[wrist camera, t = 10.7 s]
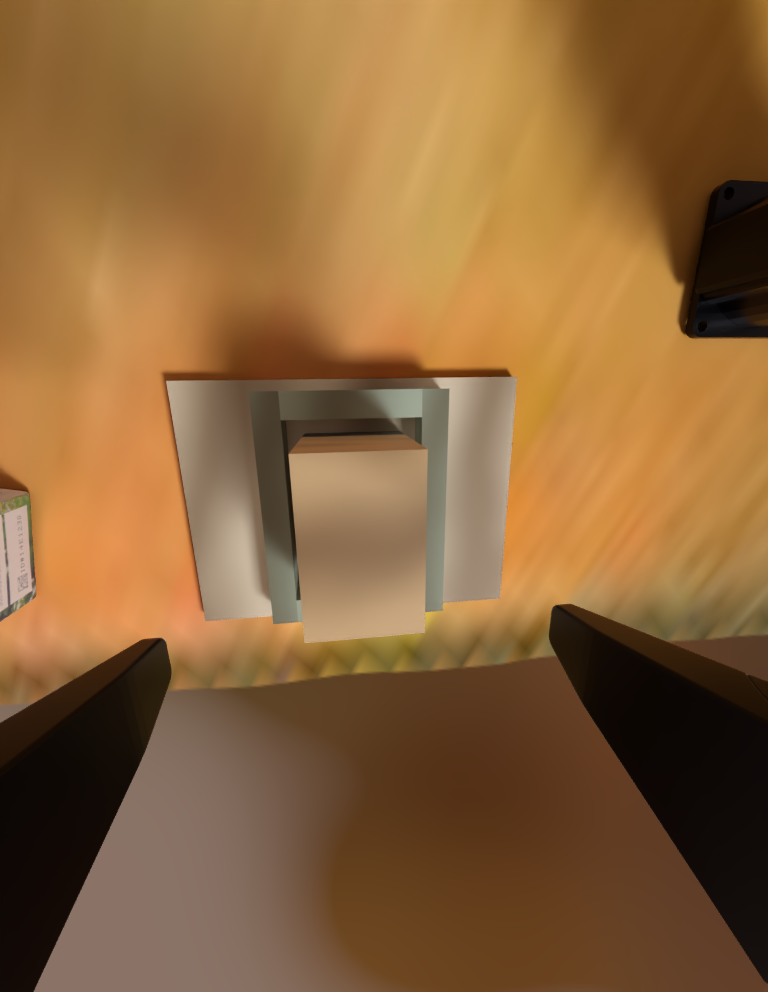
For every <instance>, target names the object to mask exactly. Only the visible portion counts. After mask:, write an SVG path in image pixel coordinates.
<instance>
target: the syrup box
mask: <svg viewBox="0 0 768 992" xmlns="http://www.w3.org/2000/svg"><path fill="white" fill-rule="evenodd" d="M35 597H36V580H35V572H34V554H33V540H32V525H31V506H30V498H29V493H28V492H25V491H18V490H10V489H1V488H0V621H2V620H3V619H5V618H6V617H8V616H9V615H11V614H13V613H14V612H15V611H17V610H18V609H20V608H21V607H23V606H24V605H25V604H27V603H28V602H30V601H31V600H32V599H34V598H35Z"/></svg>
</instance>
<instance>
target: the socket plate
mask: <svg viewBox="0 0 768 992" xmlns="http://www.w3.org/2000/svg"><path fill="white" fill-rule="evenodd" d="M166 383H167V389H168V395H169V401H170V408H171V414H172V420H173V426H174V432H175V438H176V444H177V450H178V456H179V463H180V469H181V475H182V481H183V487H184V493H185V499H186V505H187V511H188V517H189V524H190V530H191V536H192V542H193V548H194V554H195V560H196V566H197V572H198V578H199V585H200V591H201V597H202V603H203V609H204V615H205V621H214V620H227V619H240V618H253V617H266V616H273V624H280V623H293V622H303V619H302V607H301V595H300V583H299V572H298V560H297V548H296V536H295V525H294V513H293V501H292V489H291V478H290V466H289V453H290V452H291V450H292V449H293V448H294V446H295V445H296V444H297V443H298V441H299V440H300V439H301V438H302V436H303V435H304V434H305V433H340V432H376V431H401V432H402V433H404V434H405V435H407V436H408V437H410V438H411V439H413V440H414V441H416V442H417V443H419V444H420V445H422V446H423V447H425V448H426V449H428V465H427V527H426V590H425V612H431V611H443V603H447V602H460V601H473V600H486V599H499V598H500V590H501V577H502V564H503V552H504V539H505V526H506V513H507V500H508V487H509V474H510V461H511V448H512V435H513V423H514V410H515V397H516V384H517V377H452V378H366V379H280V380H194V381H166Z"/></svg>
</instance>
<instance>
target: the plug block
mask: <svg viewBox="0 0 768 992" xmlns="http://www.w3.org/2000/svg"><path fill="white" fill-rule="evenodd" d="M427 465H428V449H426V448H425V447H423V446H422V445H420V444H419V443H417V442H416V441H414V440H413V439H411V438H410V437H408V436H407V435H405V434H404V433H402V432H401V431H376V432H340V433H305V434H304V435H303V436H302V438H301V439H300V440H299V441H298V443H297V444H296V445H295V446H294V448H293V449H292V450H291V452H290V453H289V466H290V478H291V489H292V501H293V513H294V525H295V536H296V548H297V560H298V572H299V583H300V595H301V607H302V619H303V630H304V642H305V643H312V642H324V641H336V640H347V639H359V638H370V637H382V636H393V635H405V634H416V633H425V590H426V527H427Z"/></svg>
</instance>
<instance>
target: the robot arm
mask: <svg viewBox="0 0 768 992" xmlns="http://www.w3.org/2000/svg"><path fill="white" fill-rule="evenodd" d="M724 193H725V198H724ZM699 324H700V329H699V330H698V325H699ZM686 333H687V335H688V336H689V337H690V338H768V182H758V181H738V180H730V181H727V182H725V183H723V184H721V185H719V186H718V187H716V188H715V189H714V191H713V192H712V194H711V197H710V203H709V208H708V213H707V219H706V224H705V229H704V235H703V240H702V245H701V251H700V256H699V261H698V267H697V272H696V277H695V283H694V288H693V293H692V299H691V304H690V309H689V315H688V320H687V325H686ZM549 640H550V643H551V645H552V647H553V649H554V651H555V653H556V655H557V657H558V659H559V661H560V663H561V665H562V666H563V668H564V670H565V672H566V674H567V676H568V678H569V680H570V681H571V683H572V685H573V687H574V689H575V691H576V693H577V695H578V696H579V698H580V700H581V702H582V703H583V705H584V707H585V708H586V710H587V711H588V713H589V715H590V716H591V718H592V719H593V721H594V722H595V724H596V725H597V727H598V728H599V730H600V731H601V733H602V734H603V736H604V737H605V739H606V740H607V742H608V744H609V745H610V747H611V748H612V750H613V751H614V753H615V754H616V756H617V757H618V759H619V760H620V762H621V763H622V765H623V766H624V768H625V769H626V771H627V772H628V774H629V776H630V777H631V779H632V780H633V782H634V783H635V785H636V786H637V788H638V789H639V791H640V792H641V794H642V796H643V797H644V799H645V800H646V802H647V803H648V805H649V806H650V808H651V809H652V811H653V812H654V814H655V815H656V817H657V818H658V820H659V821H660V823H661V824H662V826H663V828H664V829H665V831H666V832H667V833H668V835H669V837H670V838H671V840H672V841H673V843H674V844H675V846H676V847H677V849H678V850H679V852H680V854H681V855H682V857H683V858H684V859H685V861H686V863H687V864H688V866H689V867H690V869H691V870H692V872H693V873H694V875H695V876H696V878H697V879H698V881H699V882H700V884H701V886H702V887H703V889H704V890H705V892H706V893H707V895H708V896H709V898H710V899H711V901H712V902H713V904H714V905H715V907H716V909H717V910H718V912H719V913H720V915H721V916H722V918H723V919H724V921H725V922H726V924H727V925H728V927H729V928H730V930H731V931H732V933H733V934H734V936H735V938H736V939H737V941H738V942H739V943H740V945H741V947H742V948H743V950H744V951H745V953H746V954H747V956H748V957H749V959H750V960H751V962H752V963H753V965H754V966H755V968H756V970H757V971H758V973H759V974H760V976H761V977H762V979H763V980H764V981H765V982H766V983H768V682H767V681H765V680H762V679H760V678H757V677H755V676H752V675H746V674H745V673H744V672H742V671H739V670H737V669H734V668H732V667H729V666H727V665H724V664H722V663H719V662H717V661H714V660H712V659H709V658H707V657H704V656H701V655H699V654H697V653H694V652H691V651H689V650H686V649H684V648H681V647H679V646H676V645H674V644H671V643H669V642H666V641H664V640H661V639H659V638H656V637H654V636H651V635H648V634H646V633H643V632H641V631H638V630H636V629H633V628H631V627H628V626H626V625H623V624H621V623H618V622H616V621H613V620H611V619H608V618H605V617H603V616H600V615H598V614H595V613H593V612H590V611H588V610H585V609H583V608H580V607H578V606H575V605H572V604H561V605H555V606H554V607H553V609H552V612H551V621H550V629H549ZM170 680H171V665H170V660H169V655H168V650H167V645H166V642H165V640H164V639H162V638H151V639H143V640H140V641H139V642H137V643H135V644H134V645H132V646H130V647H129V648H127V649H125V650H123V651H122V652H120V653H118V654H117V655H115V656H113V657H111V658H110V659H108V660H106V661H105V662H103V663H101V664H100V665H98V666H96V667H94V668H93V669H91V670H89V671H88V672H86V673H84V674H83V675H81V676H79V677H77V678H76V679H74V680H72V681H71V682H69V683H67V684H66V685H64V686H62V687H60V688H59V689H57V690H55V691H54V692H52V693H50V694H49V695H47V696H45V697H43V698H42V699H40V700H38V701H37V702H35V703H33V704H31V705H30V706H28V707H26V708H25V709H23V710H21V711H20V712H18V713H16V714H14V715H13V716H11V717H9V718H8V719H6V720H4V721H3V722H1V723H0V992H34V990H35V987H36V985H37V983H38V981H39V979H40V977H41V974H42V972H43V970H44V968H45V966H46V964H47V962H48V960H49V957H50V955H51V953H52V951H53V949H54V947H55V945H56V942H57V940H58V938H59V936H60V934H61V931H62V929H63V927H64V925H65V923H66V921H67V919H68V917H69V915H70V912H71V910H72V908H73V906H74V904H75V901H76V900H77V897H78V895H79V893H80V891H81V889H82V886H83V885H84V882H85V880H86V878H87V876H88V874H89V872H90V869H91V867H92V865H93V863H94V861H95V859H96V856H97V854H98V852H99V850H100V848H101V846H102V844H103V842H104V839H105V837H106V835H107V833H108V831H109V829H110V826H111V824H112V822H113V820H114V818H115V816H116V814H117V812H118V809H119V807H120V805H121V803H122V801H123V799H124V796H125V794H126V792H127V790H128V788H129V786H130V783H131V782H132V779H133V777H134V775H135V773H136V771H137V769H138V767H139V764H140V762H141V760H142V757H143V755H144V753H145V750H146V748H147V745H148V742H149V740H150V737H151V734H152V731H153V728H154V726H155V723H156V720H157V717H158V714H159V711H160V708H161V706H162V703H163V700H164V697H165V694H166V691H167V689H168V686H169V683H170Z"/></svg>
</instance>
